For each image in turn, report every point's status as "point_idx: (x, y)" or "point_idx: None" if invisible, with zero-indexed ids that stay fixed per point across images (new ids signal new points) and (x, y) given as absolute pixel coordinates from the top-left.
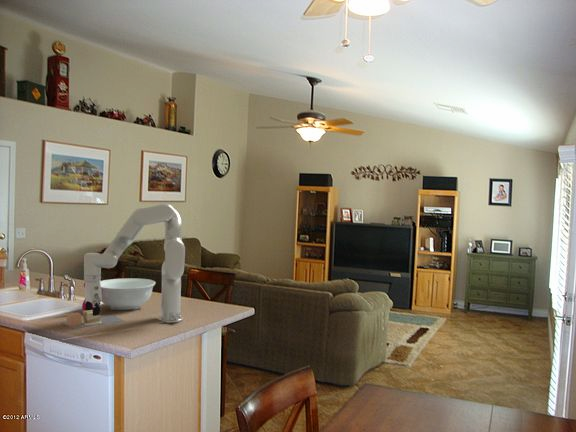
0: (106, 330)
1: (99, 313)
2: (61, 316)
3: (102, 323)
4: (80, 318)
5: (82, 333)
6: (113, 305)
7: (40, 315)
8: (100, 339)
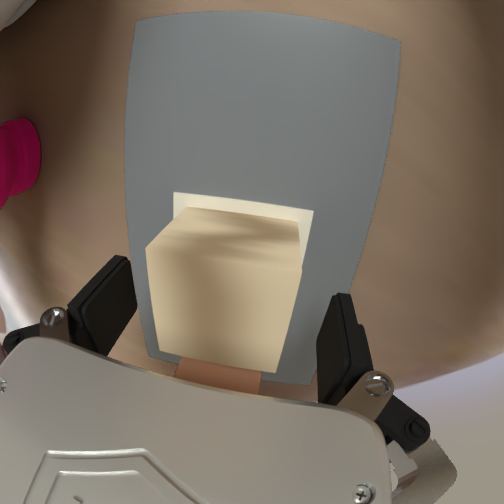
0: (452, 264)
1: (351, 303)
2: (22, 273)
3: (342, 222)
4: (260, 374)
5: (386, 364)
6: (16, 10)
7: (10, 309)
8: (496, 341)
